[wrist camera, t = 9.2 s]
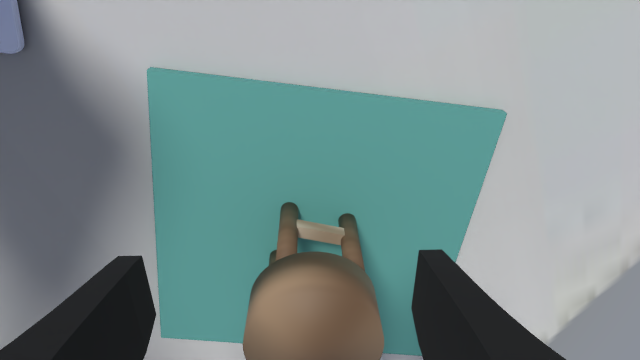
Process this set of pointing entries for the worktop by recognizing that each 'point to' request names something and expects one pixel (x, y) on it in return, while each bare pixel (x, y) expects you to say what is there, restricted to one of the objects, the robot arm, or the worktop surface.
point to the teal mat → (302, 189)
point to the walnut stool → (313, 298)
